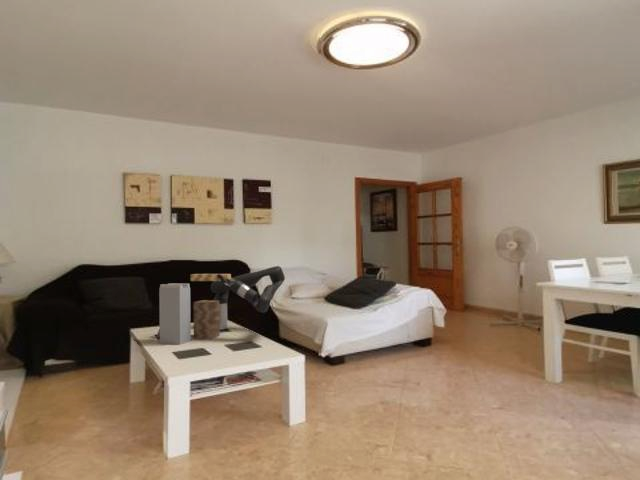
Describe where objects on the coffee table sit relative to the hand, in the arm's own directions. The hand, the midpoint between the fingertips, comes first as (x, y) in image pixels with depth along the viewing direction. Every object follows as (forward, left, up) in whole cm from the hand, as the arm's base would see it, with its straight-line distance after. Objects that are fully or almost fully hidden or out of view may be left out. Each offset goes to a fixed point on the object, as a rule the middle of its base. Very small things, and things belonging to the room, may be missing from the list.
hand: (219, 275), depth 252 cm
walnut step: (-8, -5, -38) cm, 40 cm away
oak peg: (-5, -4, -3) cm, 7 cm away
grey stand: (-8, -25, -38) cm, 46 cm away
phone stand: (-25, -26, -39) cm, 53 cm away
